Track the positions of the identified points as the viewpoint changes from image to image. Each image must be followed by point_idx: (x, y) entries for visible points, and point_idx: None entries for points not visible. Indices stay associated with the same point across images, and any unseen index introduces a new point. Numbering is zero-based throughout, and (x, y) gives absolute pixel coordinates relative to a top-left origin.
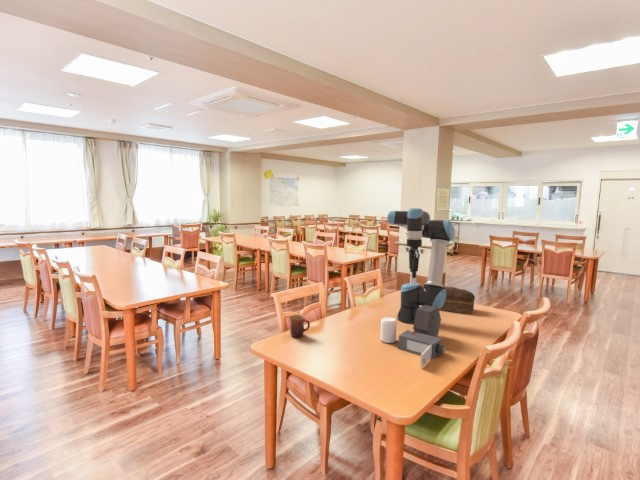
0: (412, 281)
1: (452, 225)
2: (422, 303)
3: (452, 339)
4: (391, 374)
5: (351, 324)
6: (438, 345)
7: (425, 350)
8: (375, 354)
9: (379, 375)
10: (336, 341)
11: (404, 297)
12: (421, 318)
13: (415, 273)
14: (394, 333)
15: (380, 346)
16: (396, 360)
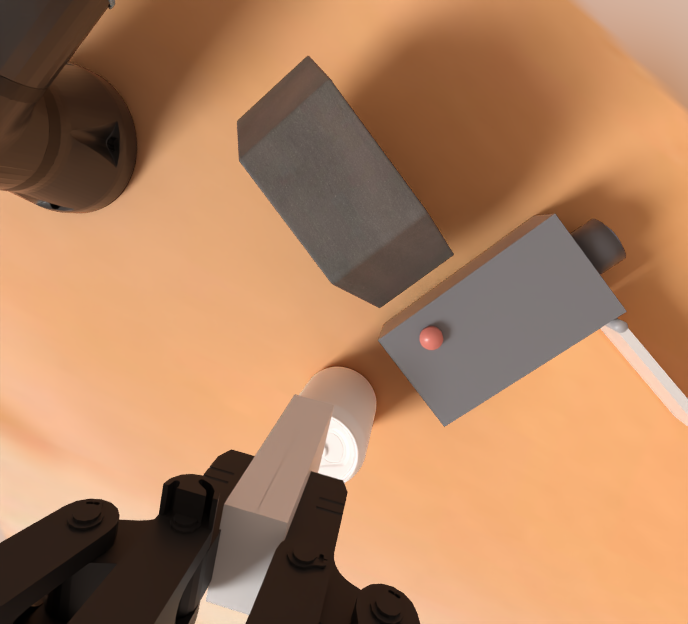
0: (315, 470)
1: None
2: (62, 68)
3: (398, 49)
4: (675, 550)
5: (112, 470)
6: (600, 265)
7: (675, 394)
8: (471, 521)
9: (665, 595)
10: None
11: None
12: (393, 269)
13: (333, 543)
14: (367, 404)
15: (394, 462)
16: (557, 468)
